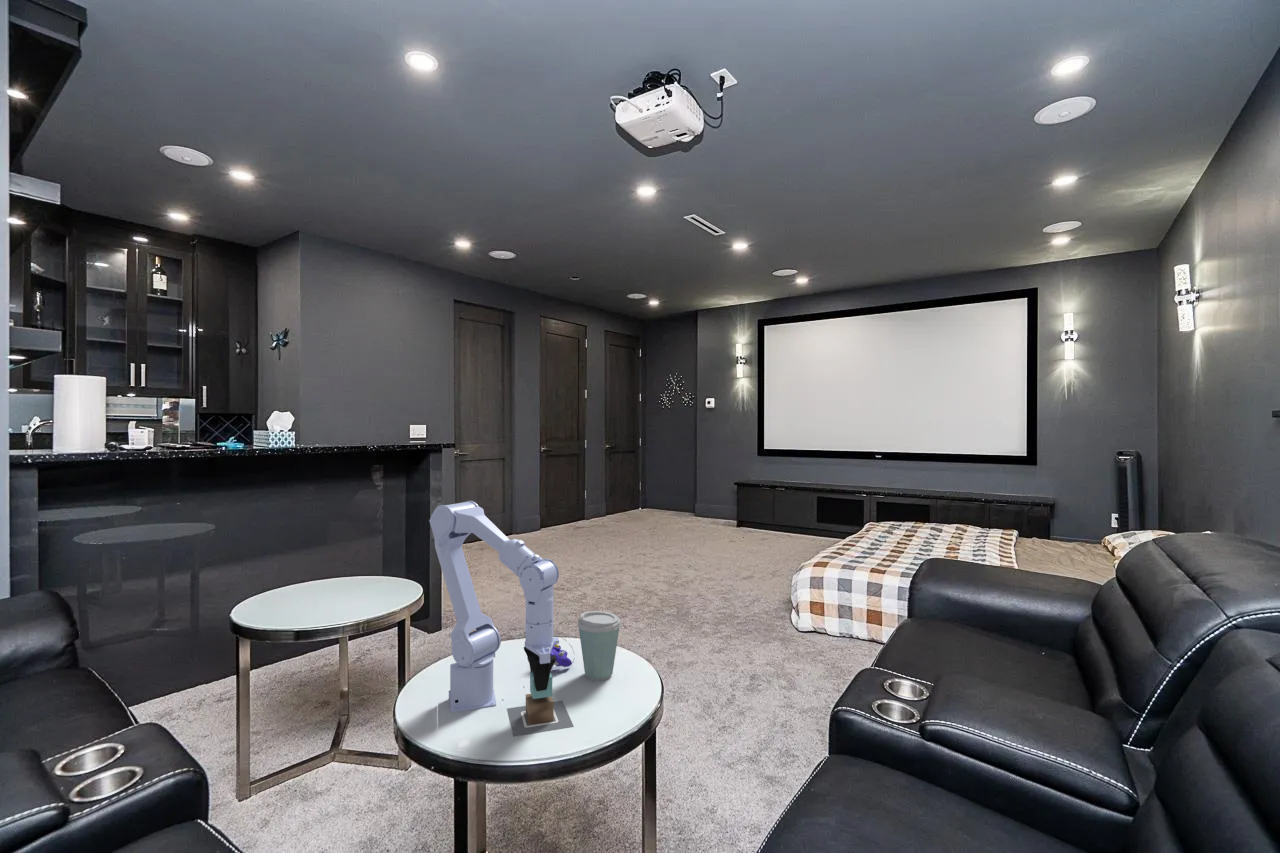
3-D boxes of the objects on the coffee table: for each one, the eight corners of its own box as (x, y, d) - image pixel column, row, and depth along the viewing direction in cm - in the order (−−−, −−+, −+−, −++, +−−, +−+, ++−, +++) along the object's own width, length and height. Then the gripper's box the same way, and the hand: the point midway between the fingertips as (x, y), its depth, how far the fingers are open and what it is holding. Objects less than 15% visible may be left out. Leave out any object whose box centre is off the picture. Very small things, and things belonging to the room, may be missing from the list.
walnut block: (528, 724, 119) (529, 705, 119) (525, 713, 124) (525, 694, 124) (553, 721, 121) (553, 701, 121) (549, 709, 125) (549, 691, 125)
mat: (513, 737, 114) (513, 736, 114) (507, 709, 126) (507, 708, 126) (573, 728, 118) (573, 726, 118) (562, 701, 130) (562, 699, 130)
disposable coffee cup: (614, 665, 149) (614, 606, 149) (626, 683, 139) (626, 619, 139) (573, 670, 146) (573, 610, 146) (582, 689, 136) (582, 624, 136)
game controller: (585, 651, 149) (557, 655, 141) (574, 681, 149) (545, 686, 142) (561, 631, 155) (533, 633, 148) (551, 659, 156) (522, 663, 148)
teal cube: (532, 699, 120) (532, 679, 120) (530, 690, 123) (530, 671, 123) (552, 696, 121) (552, 676, 121) (549, 688, 125) (549, 669, 125)
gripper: (565, 629, 117) (565, 697, 116) (552, 607, 130) (552, 669, 130) (529, 633, 114) (529, 702, 114) (520, 611, 128) (520, 673, 128)
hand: (539, 685), depth 122 cm, fingers closed on teal cube, 4 cm apart
